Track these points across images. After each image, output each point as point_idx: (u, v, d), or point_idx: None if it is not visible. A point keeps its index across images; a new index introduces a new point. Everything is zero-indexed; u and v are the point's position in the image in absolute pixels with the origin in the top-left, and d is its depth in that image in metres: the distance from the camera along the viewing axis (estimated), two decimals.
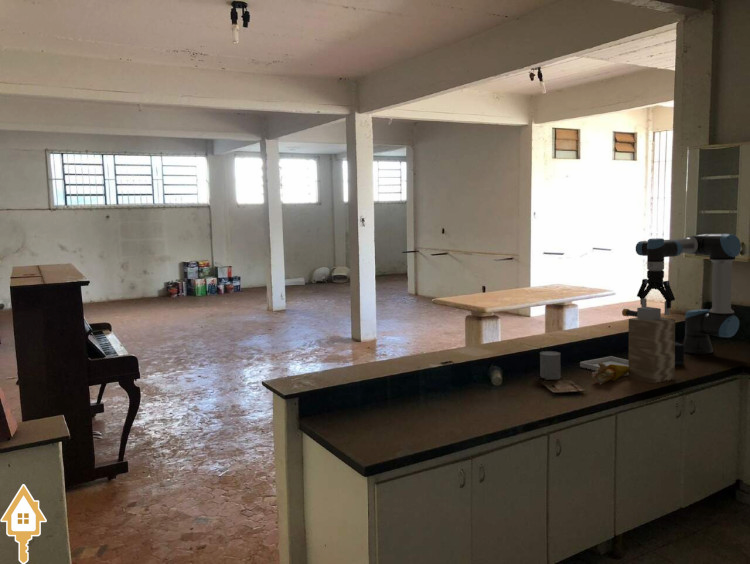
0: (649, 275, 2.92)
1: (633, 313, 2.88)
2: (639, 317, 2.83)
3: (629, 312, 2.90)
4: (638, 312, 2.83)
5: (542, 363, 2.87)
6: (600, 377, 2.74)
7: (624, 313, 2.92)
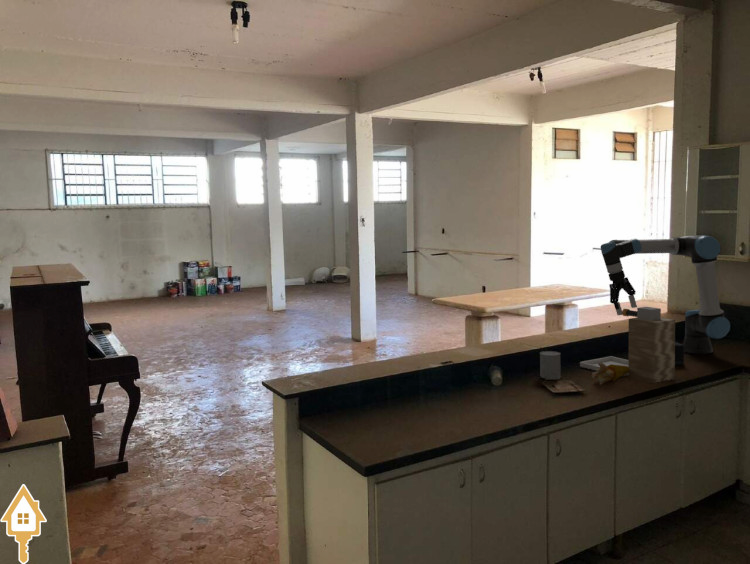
0: None
1: (633, 313, 2.88)
2: (639, 317, 2.83)
3: (629, 312, 2.90)
4: (638, 312, 2.83)
5: (542, 363, 2.87)
6: (600, 377, 2.74)
7: (624, 313, 2.92)
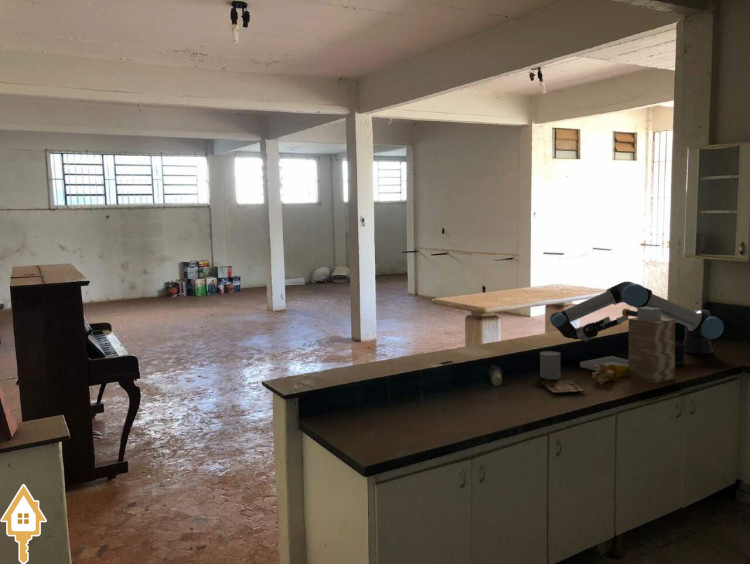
0: None
1: (633, 313, 2.88)
2: (639, 317, 2.83)
3: (629, 312, 2.90)
4: (638, 312, 2.83)
5: (542, 363, 2.87)
6: (600, 377, 2.74)
7: (624, 313, 2.92)
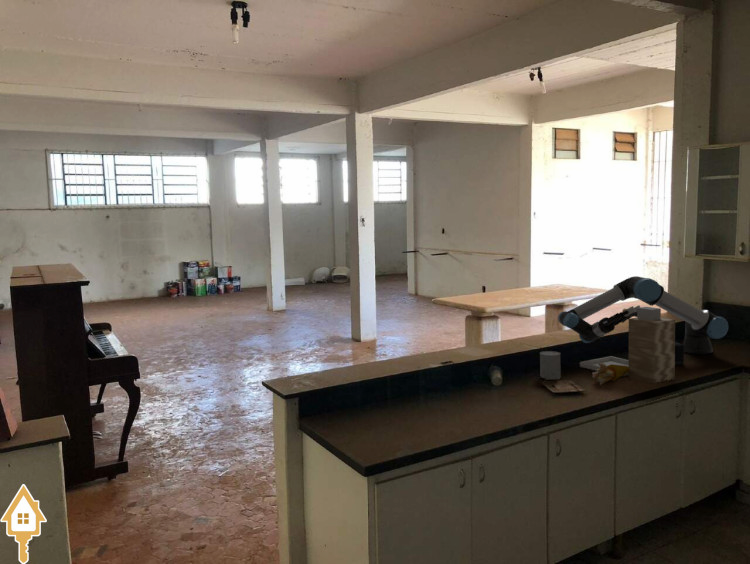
0: (610, 331, 3.03)
1: (633, 313, 2.88)
2: (639, 317, 2.83)
3: None
4: (638, 312, 2.83)
5: (542, 363, 2.87)
6: (600, 377, 2.74)
7: None
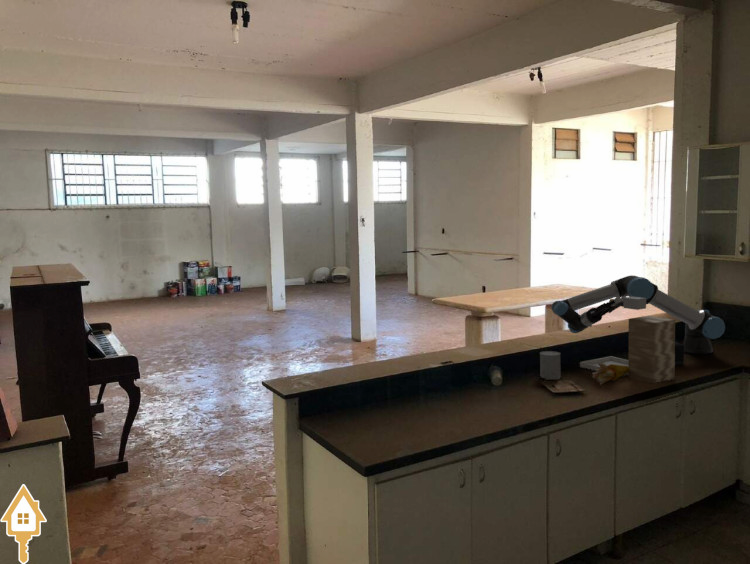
0: (597, 321, 3.10)
1: (619, 303, 2.94)
2: (625, 306, 2.89)
3: None
4: (624, 302, 2.90)
5: (542, 363, 2.87)
6: (600, 377, 2.74)
7: None
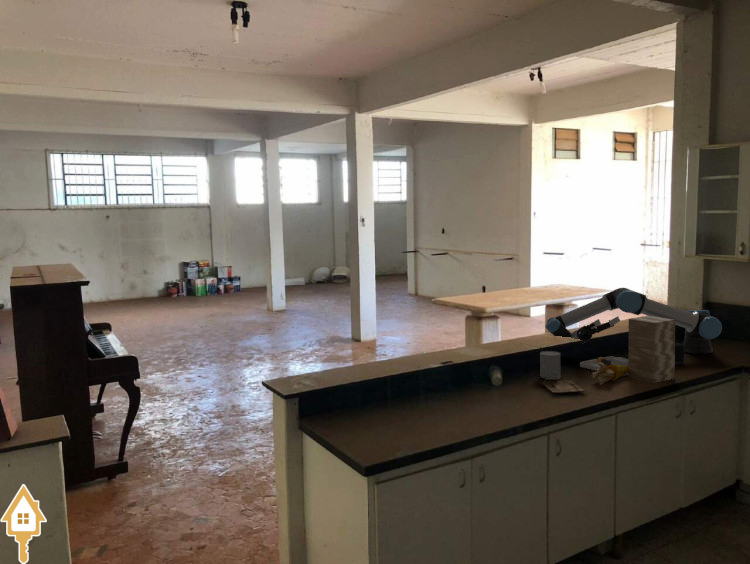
0: (587, 340, 3.18)
1: (607, 362, 3.04)
2: None
3: (604, 361, 3.07)
4: (612, 362, 3.00)
5: (542, 363, 2.87)
6: (600, 377, 2.74)
7: (599, 361, 3.09)
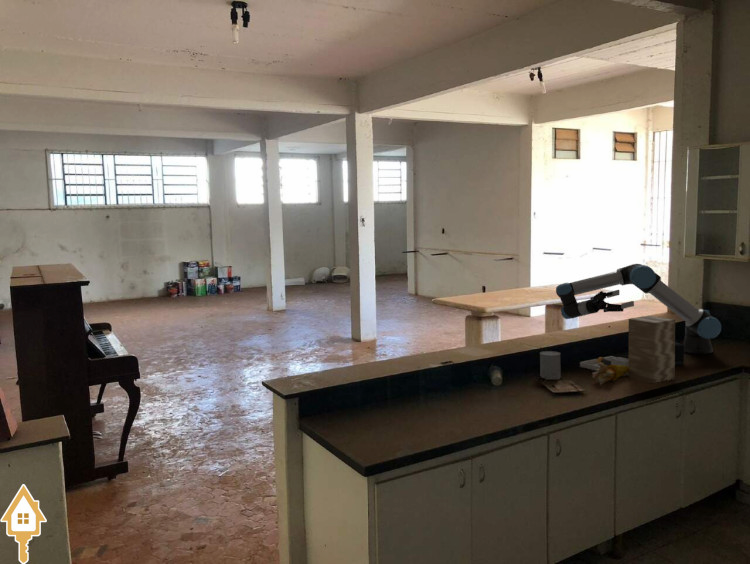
0: (593, 312, 3.18)
1: (607, 362, 3.04)
2: None
3: (604, 361, 3.07)
4: (612, 362, 3.00)
5: (542, 363, 2.87)
6: (600, 377, 2.74)
7: (599, 361, 3.09)
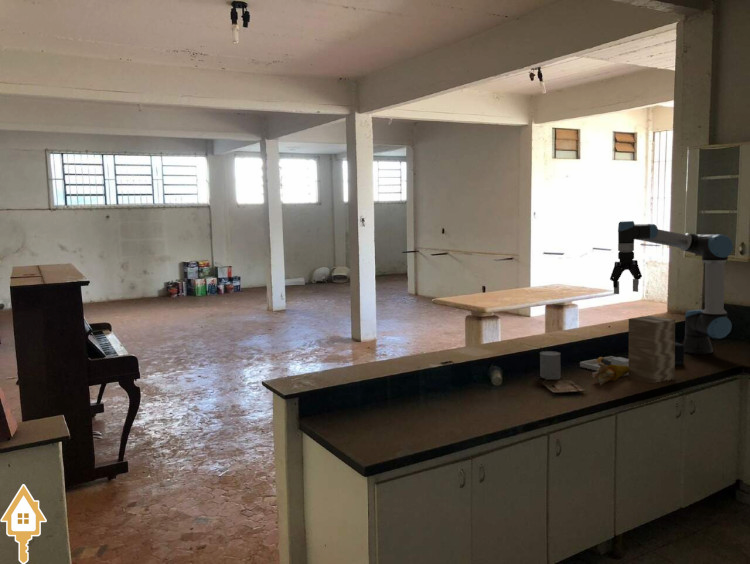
0: (631, 256, 3.04)
1: (607, 362, 3.04)
2: None
3: (604, 361, 3.07)
4: (612, 362, 3.00)
5: (542, 363, 2.87)
6: (600, 377, 2.74)
7: (599, 361, 3.09)
